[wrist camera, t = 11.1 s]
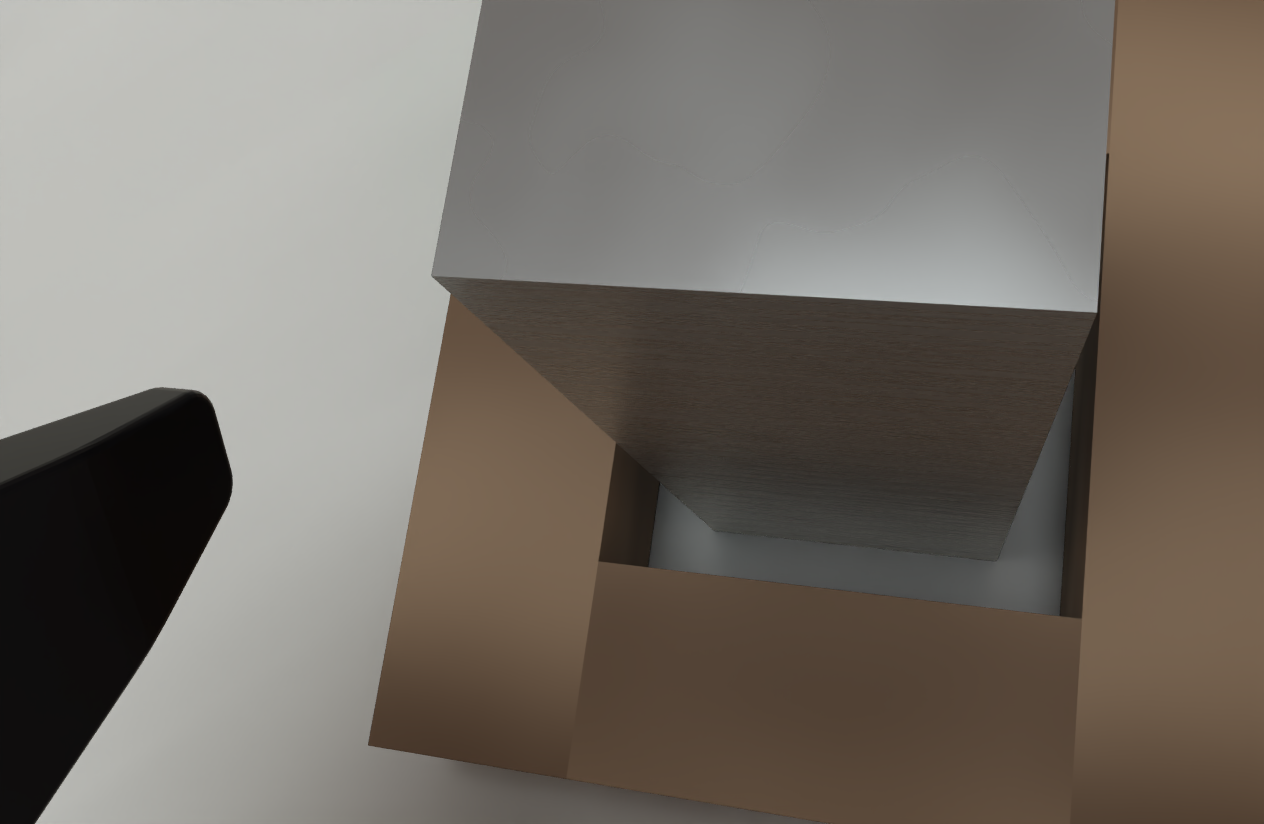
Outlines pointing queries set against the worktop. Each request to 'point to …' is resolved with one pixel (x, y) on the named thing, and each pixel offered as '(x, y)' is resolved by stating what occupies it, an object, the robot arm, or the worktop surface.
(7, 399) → the worktop surface
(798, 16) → the steel peg
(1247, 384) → the wooden square hole board
